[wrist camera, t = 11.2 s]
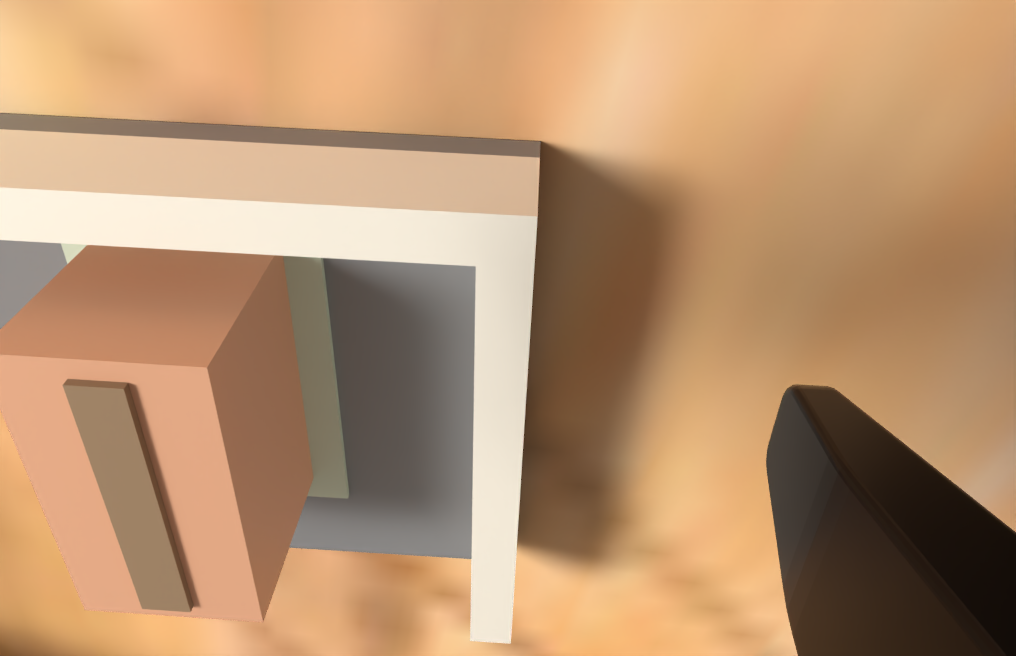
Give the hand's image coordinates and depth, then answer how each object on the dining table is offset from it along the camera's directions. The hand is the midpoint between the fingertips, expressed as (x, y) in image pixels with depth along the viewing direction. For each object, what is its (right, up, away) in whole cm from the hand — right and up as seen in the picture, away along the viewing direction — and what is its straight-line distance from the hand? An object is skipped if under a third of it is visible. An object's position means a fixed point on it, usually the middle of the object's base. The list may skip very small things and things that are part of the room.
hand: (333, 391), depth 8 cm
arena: (-5, 0, +15) cm, 16 cm away
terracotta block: (-6, 0, +14) cm, 15 cm away
